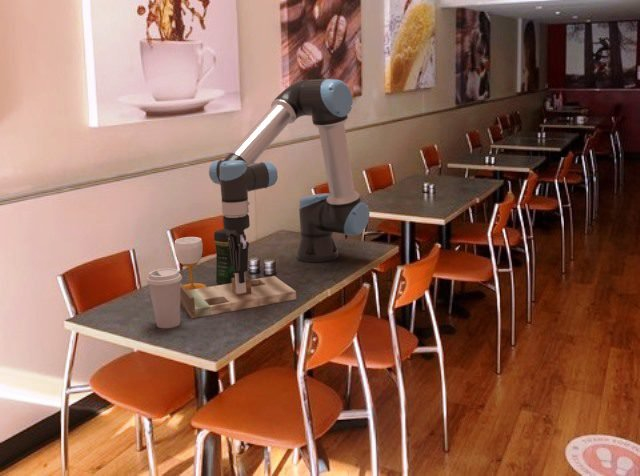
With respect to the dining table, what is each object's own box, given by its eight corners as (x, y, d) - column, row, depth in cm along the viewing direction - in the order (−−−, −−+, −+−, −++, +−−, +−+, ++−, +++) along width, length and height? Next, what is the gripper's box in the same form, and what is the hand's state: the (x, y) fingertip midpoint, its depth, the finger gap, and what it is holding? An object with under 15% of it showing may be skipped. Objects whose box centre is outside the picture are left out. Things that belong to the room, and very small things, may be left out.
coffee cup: (153, 319, 193) (148, 268, 190) (187, 316, 194) (183, 266, 190) (148, 331, 184) (142, 278, 180) (184, 329, 185) (179, 276, 181)
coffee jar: (230, 288, 218) (227, 232, 213) (212, 284, 222) (208, 229, 218) (250, 280, 225) (247, 225, 221) (232, 277, 230) (229, 223, 225)
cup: (172, 289, 219) (167, 241, 215) (195, 282, 226) (191, 235, 222) (189, 294, 213) (184, 245, 209) (212, 287, 220) (208, 239, 216)
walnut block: (246, 289, 208) (245, 275, 207) (251, 293, 204) (250, 279, 203) (232, 292, 206) (231, 277, 205) (237, 296, 202) (236, 281, 201)
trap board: (274, 283, 222) (273, 265, 220) (296, 299, 206) (295, 280, 204) (177, 300, 209) (175, 281, 207) (192, 318, 193) (190, 298, 191)
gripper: (255, 217, 192) (260, 296, 198) (240, 209, 203) (245, 284, 209) (230, 220, 189) (236, 300, 195) (216, 212, 200) (222, 288, 206)
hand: (241, 292), depth 202 cm, fingers closed
